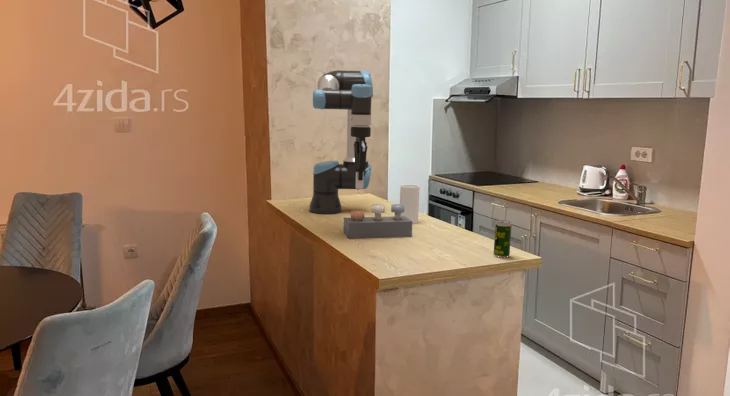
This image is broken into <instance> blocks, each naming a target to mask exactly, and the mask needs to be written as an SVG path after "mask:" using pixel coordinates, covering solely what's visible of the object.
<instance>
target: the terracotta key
mask: <svg viewBox="0 0 730 396" xmlns="http://www.w3.org/2000/svg"><path fill="white" fill-rule="evenodd" d="M365 213H366V212H365V210H360V209H355V210H351V211H350V218H353V219H355V221H361V219H364V217H366V216H365V215H366V214H365Z"/></svg>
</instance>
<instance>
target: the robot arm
mask: <svg viewBox="0 0 730 396" xmlns="http://www.w3.org/2000/svg"><path fill="white" fill-rule="evenodd" d="M316 86H317V89H314V90H313V92H312V107H313V108H314V109H316V110H317V109H318V110H347V113H346V114H347V115H346V117H347V119H346V121H347V122H346V124H347V125H346V127H347V128H346V157H344V159H343V163H340V161H338V160H327V161H321V162H317V163H315V164H314V165H313V171H312V172H313V173H312V175H313V180H312V181H313V184H312V185H313V187H312V189H313V190H312V191H313V192H312V198H311V200H310V202H309V203H310V204H309V207H308V208H309V212H311V213H314V214H319V215H322V214H323V215H328V214H329V215H331V214H339V213H342V208H343V207H342V204H341V200H340V197H339V190H357V191H358V190H367V188H368V187H369V184H370V181H371V176H372V164H369V160H368V159H367V152H368V146H367V142H366V138H370V137H371V136H372V135H371V133H372V128H371V127H370V126H371V125H372V98H373V96H374V89H373V88H374V87H373V86H374V85H373V78H372V74H371V73H370V72H369V71H364V70H340V69H339V70H332V71H329V72H326V73H325V74H322V75H321V76H320V77H319V79H318V81H317V85H316Z"/></svg>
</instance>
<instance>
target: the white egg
mask: <svg viewBox="0 0 730 396" xmlns="http://www.w3.org/2000/svg"><path fill="white" fill-rule="evenodd" d="M370 207H371V208H370V209H371V210H370V211H371V213H373V214H374V217H375V220H381V217H382V214H384V213H385V211H386V206H385V205H383V204H372V205H371V206H370Z"/></svg>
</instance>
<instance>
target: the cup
mask: <svg viewBox="0 0 730 396" xmlns="http://www.w3.org/2000/svg"><path fill="white" fill-rule="evenodd" d="M399 189H400V190H399V204H401V205H404V206H405V209H404V212H403V213H401V216H405V217H407V218H408V219H410V220H411V221H412V225H414V224H418V223H419V212H420V211H419V210H420V185H419V184H413V183H403V184H400V187H399Z"/></svg>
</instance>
